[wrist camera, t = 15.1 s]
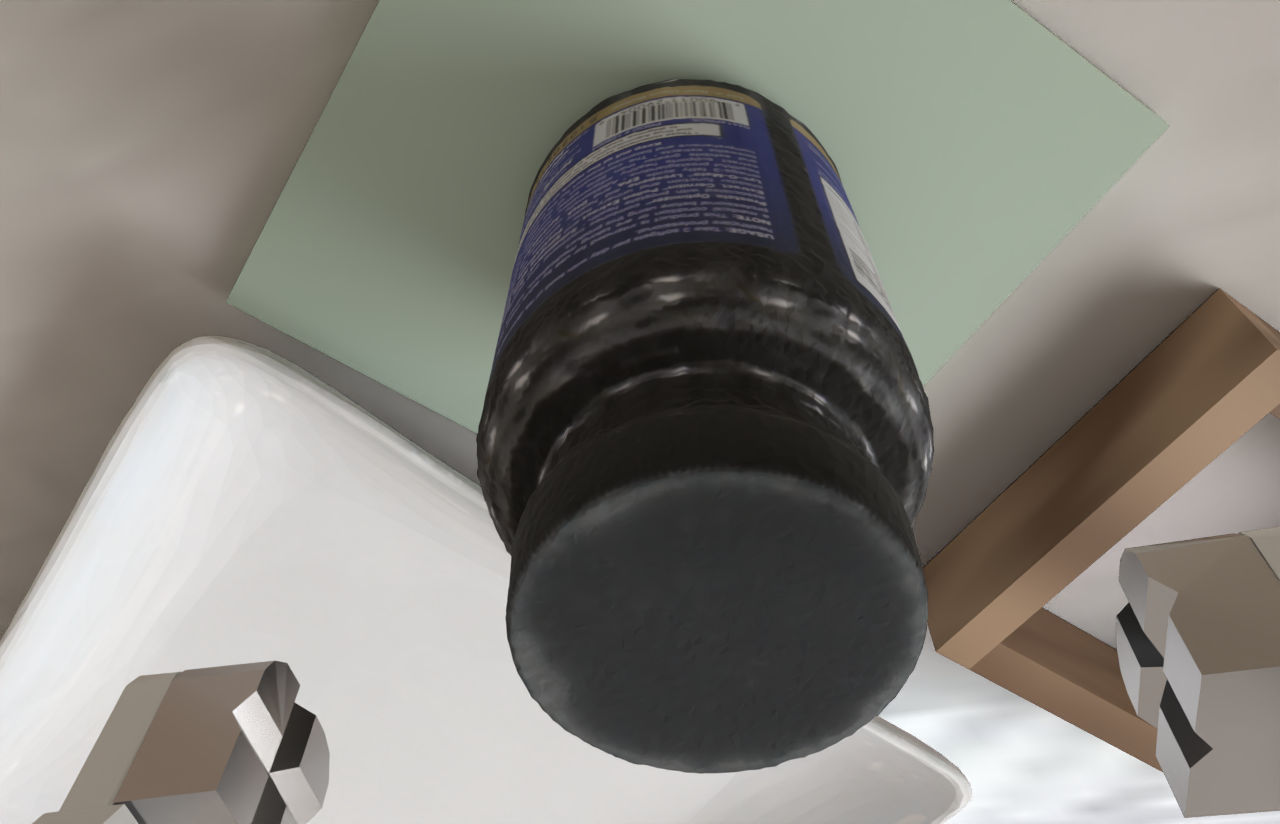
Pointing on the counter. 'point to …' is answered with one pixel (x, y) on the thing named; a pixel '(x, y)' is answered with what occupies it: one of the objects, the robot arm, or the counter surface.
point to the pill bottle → (704, 440)
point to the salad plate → (352, 624)
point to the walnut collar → (1097, 519)
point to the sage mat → (653, 52)
